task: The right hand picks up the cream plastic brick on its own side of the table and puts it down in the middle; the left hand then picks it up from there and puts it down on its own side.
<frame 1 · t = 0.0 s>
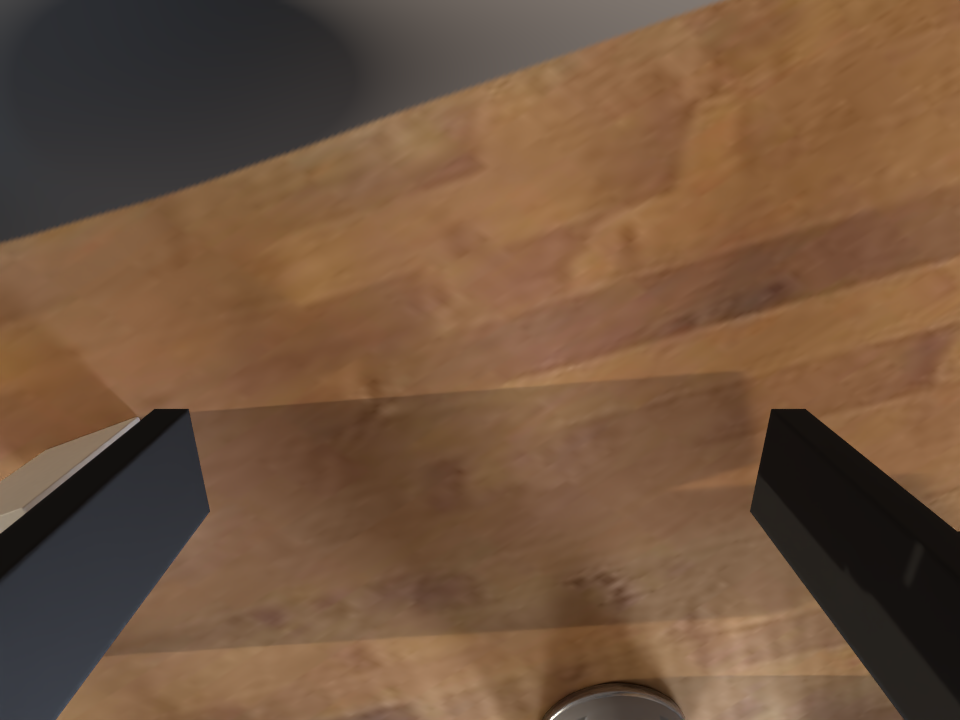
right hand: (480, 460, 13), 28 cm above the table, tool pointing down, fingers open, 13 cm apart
brick: (121, 476, 46), on the table
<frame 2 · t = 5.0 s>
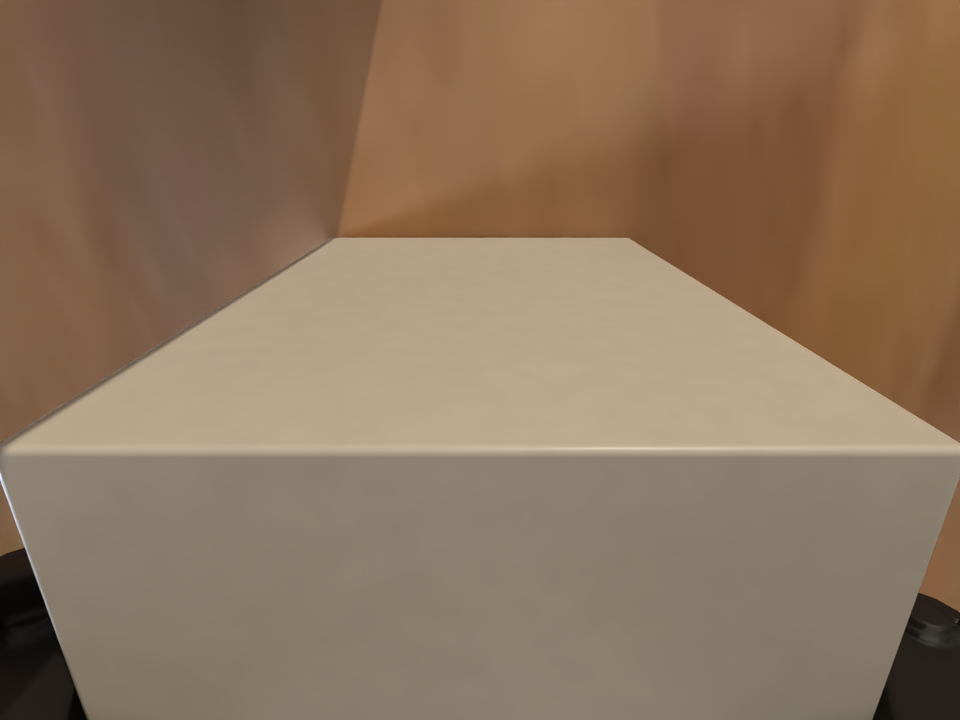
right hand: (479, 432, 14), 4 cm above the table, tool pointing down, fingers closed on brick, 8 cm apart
brick: (479, 377, 17), on the table, touching right hand
when the right hand's fingers open (5 cm above the table, at t = 16.9 s): brick drops 1 cm, on the table.
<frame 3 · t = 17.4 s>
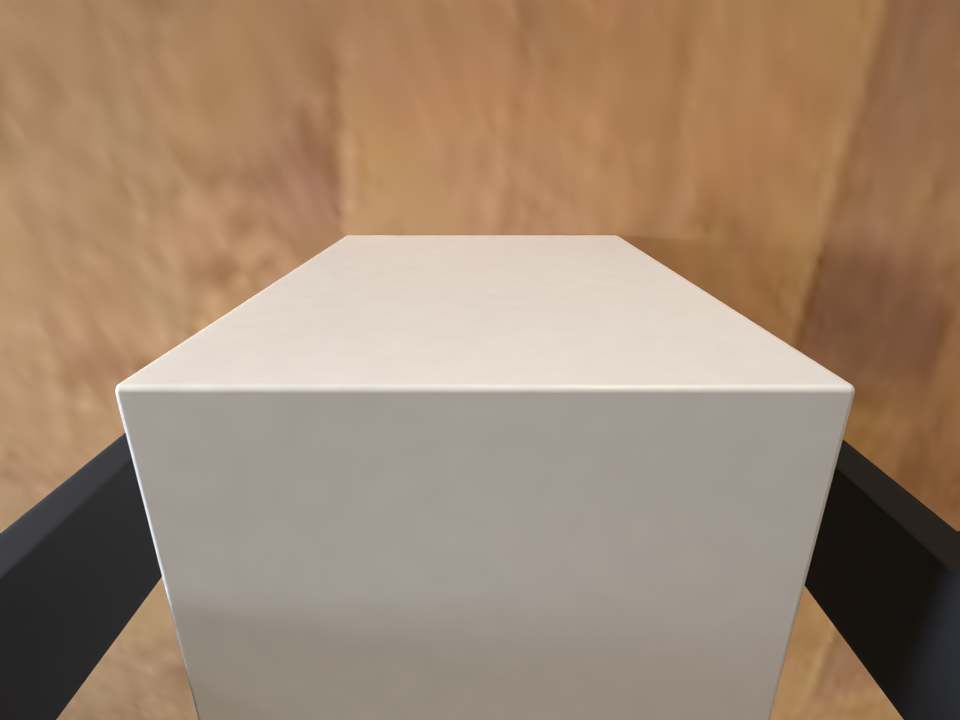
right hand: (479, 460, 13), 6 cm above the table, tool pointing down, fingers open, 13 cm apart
brick: (482, 364, 19), on the table
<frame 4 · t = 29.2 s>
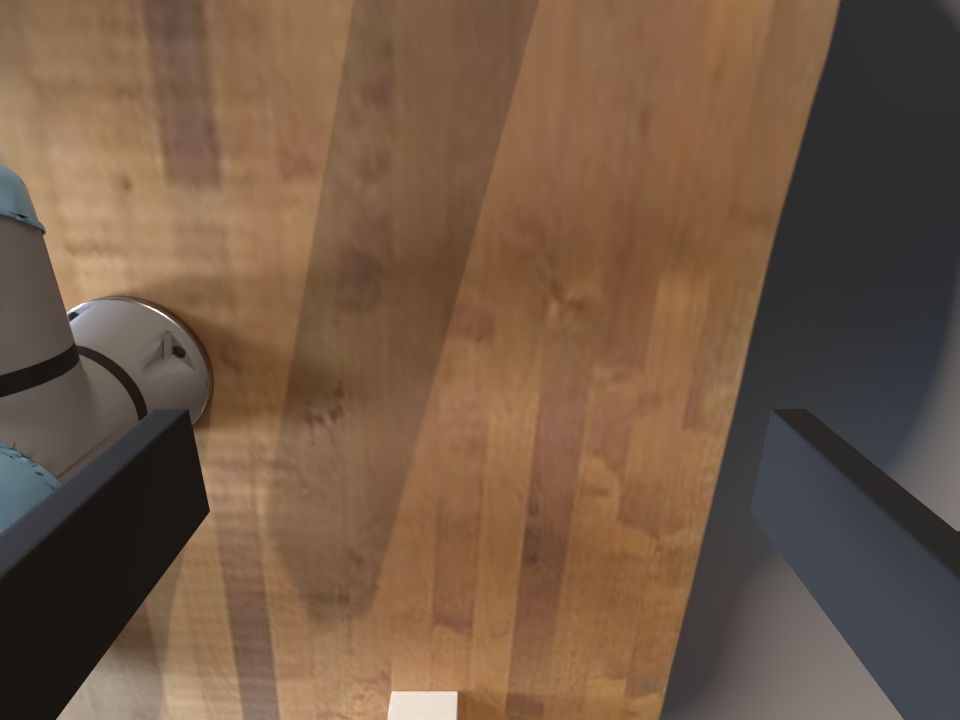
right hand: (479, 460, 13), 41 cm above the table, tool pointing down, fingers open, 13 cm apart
brick: (426, 714, 74), on the table, touching left hand
when the left hand's fingers open (5 cm above the table, at t = 36.5 s): brick drops 1 cm, on the table.
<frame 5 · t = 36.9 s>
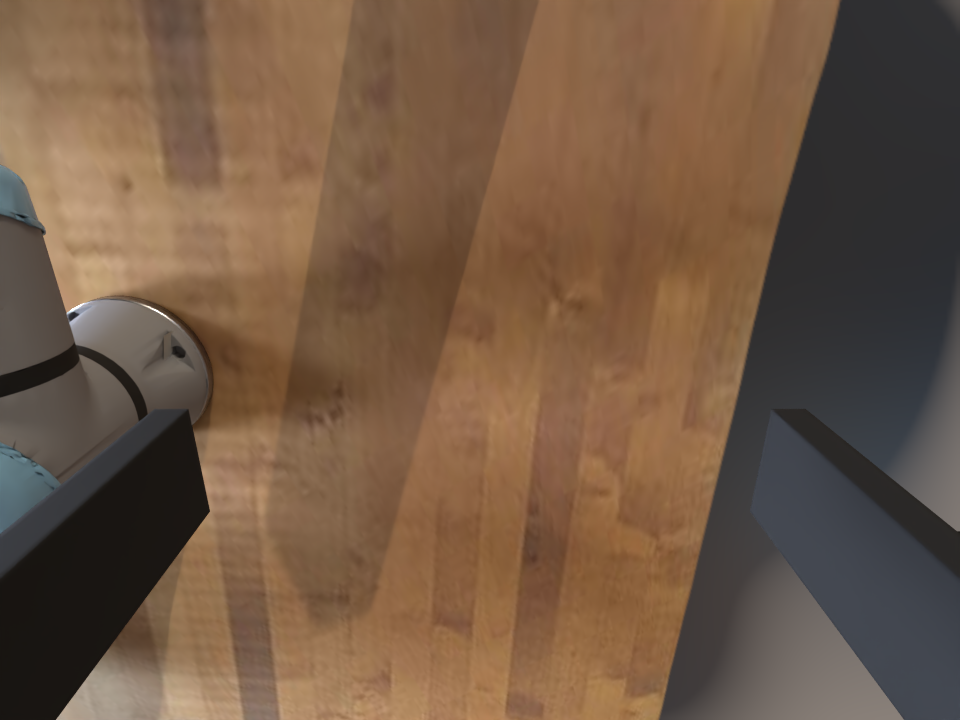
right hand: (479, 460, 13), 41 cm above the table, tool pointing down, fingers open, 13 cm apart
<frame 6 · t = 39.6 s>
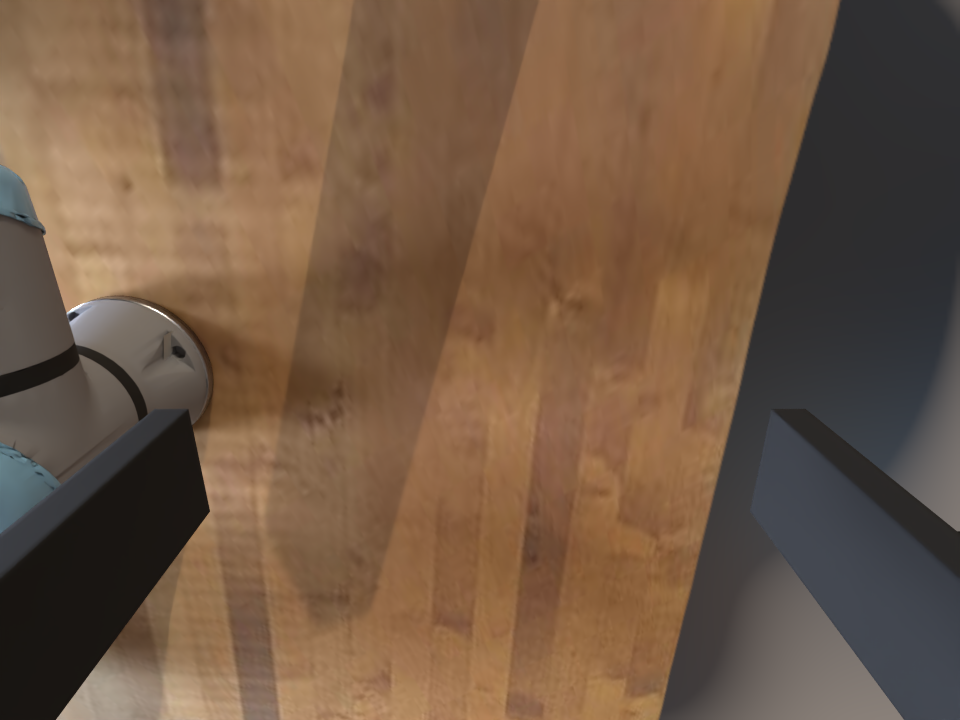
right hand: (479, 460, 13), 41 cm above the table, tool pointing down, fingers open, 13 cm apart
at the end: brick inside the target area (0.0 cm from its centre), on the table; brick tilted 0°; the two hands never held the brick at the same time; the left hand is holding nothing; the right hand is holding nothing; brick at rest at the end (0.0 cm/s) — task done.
